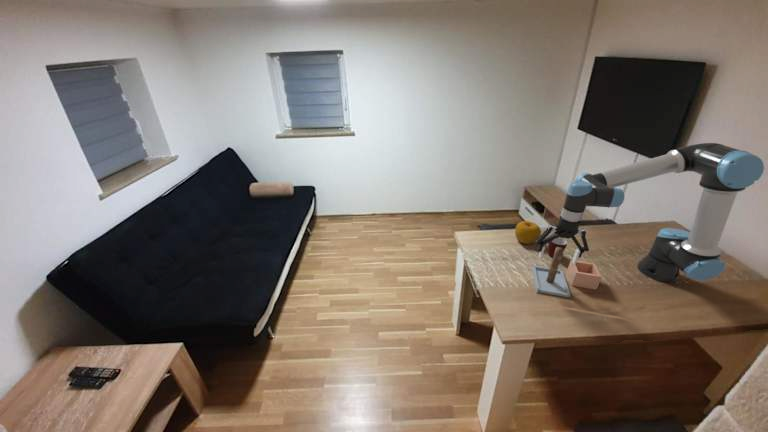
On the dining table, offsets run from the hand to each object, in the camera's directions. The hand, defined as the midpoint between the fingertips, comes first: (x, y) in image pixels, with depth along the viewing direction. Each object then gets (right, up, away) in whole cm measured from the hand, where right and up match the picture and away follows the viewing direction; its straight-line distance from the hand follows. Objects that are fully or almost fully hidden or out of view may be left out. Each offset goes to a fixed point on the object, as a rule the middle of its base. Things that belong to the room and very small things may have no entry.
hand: (556, 259), depth 133 cm
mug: (+12, -3, +23) cm, 26 cm away
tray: (0, -12, +6) cm, 13 cm away
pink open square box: (+15, -11, +7) cm, 20 cm away
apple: (+4, +5, +38) cm, 38 cm away
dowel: (0, -11, +6) cm, 12 cm away
